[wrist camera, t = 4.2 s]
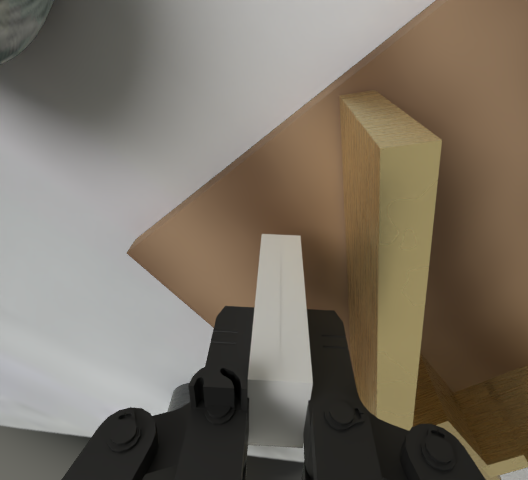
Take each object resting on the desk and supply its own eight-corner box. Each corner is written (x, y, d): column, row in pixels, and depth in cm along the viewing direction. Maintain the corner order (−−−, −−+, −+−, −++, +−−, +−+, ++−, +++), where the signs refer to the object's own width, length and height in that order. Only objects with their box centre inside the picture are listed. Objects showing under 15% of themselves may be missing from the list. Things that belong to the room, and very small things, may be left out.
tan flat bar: (339, 95, 12) (379, 148, 7) (374, 90, 12) (441, 139, 7) (350, 352, 19) (375, 474, 14) (373, 351, 19) (407, 473, 14)
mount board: (701, -212, 9) (753, -240, 8) (769, 300, 18) (798, 316, 17) (135, 239, 18) (126, 253, 17) (365, 443, 26) (369, 460, 25)
